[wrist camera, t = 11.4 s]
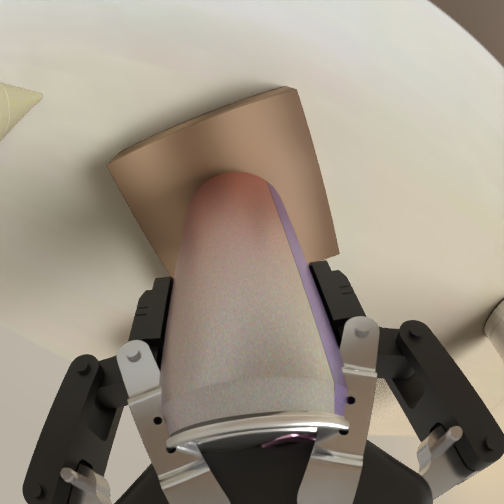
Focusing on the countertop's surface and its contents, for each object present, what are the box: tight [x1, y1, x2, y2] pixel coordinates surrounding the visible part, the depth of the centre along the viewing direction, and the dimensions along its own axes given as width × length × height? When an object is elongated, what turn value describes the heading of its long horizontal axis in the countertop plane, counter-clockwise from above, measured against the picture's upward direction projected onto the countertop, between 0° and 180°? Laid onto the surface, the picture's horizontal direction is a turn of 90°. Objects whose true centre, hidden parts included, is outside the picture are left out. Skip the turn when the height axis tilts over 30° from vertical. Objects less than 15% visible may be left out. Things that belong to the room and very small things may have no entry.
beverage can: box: [159, 172, 352, 452], centre depth 13 cm, size 6×6×15 cm
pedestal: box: [107, 86, 340, 280], centre depth 21 cm, size 12×12×3 cm
